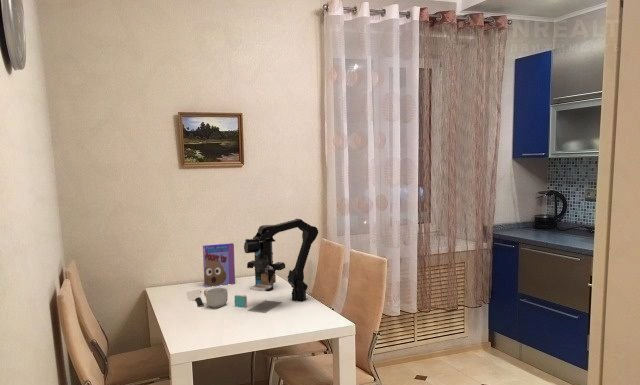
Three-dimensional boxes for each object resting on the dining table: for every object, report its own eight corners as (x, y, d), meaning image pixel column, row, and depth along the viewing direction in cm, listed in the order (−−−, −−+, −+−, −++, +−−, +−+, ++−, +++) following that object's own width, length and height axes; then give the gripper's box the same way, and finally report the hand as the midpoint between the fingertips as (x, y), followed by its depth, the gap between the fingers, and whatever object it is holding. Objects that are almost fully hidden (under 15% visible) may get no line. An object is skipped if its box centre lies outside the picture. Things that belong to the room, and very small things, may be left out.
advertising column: (278, 288, 253) (277, 236, 251) (263, 293, 244) (262, 239, 243) (265, 285, 260) (263, 234, 259) (250, 289, 252) (248, 237, 250)
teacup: (232, 305, 224) (231, 289, 223) (213, 310, 216) (213, 294, 215) (216, 300, 233) (215, 285, 233) (198, 305, 225) (197, 289, 225)
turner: (266, 281, 228) (265, 269, 228) (279, 282, 225) (279, 270, 224) (249, 289, 213) (249, 277, 213) (264, 290, 210) (263, 278, 210)
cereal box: (205, 287, 260) (203, 246, 258) (204, 285, 264) (202, 245, 263) (235, 284, 266) (233, 244, 265) (233, 282, 270) (232, 242, 269)
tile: (246, 307, 219) (246, 295, 219) (245, 308, 218) (244, 296, 218) (236, 306, 222) (236, 294, 221) (234, 307, 220) (234, 295, 220)
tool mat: (282, 303, 225) (282, 302, 225) (265, 314, 209) (265, 313, 209) (265, 301, 229) (265, 300, 229) (246, 312, 213) (246, 310, 213)
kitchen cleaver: (182, 291, 249) (200, 287, 253) (183, 294, 250) (201, 290, 253) (185, 307, 220) (206, 302, 223) (186, 311, 220) (206, 306, 224)
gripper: (240, 253, 216) (241, 285, 216) (274, 255, 208) (275, 288, 209) (252, 249, 226) (253, 279, 227) (285, 251, 219) (286, 282, 220)
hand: (266, 282), depth 220 cm, fingers closed on turner, 3 cm apart
